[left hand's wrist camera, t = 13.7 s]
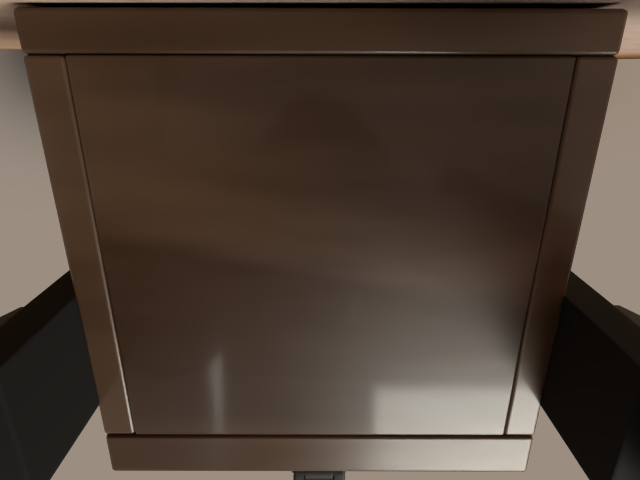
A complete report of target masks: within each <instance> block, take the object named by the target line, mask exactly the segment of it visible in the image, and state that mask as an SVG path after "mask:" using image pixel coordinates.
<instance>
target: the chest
mask: <svg viewBox="0 0 640 480" xmlns="http://www.w3.org/2000/svg"><path fill="white" fill-rule="evenodd" d="M14 15H15V20H16V25H17V29H18V34H19V38H20V43H21V48H22V50H23V52H25V53H27V54H28V55H26V56H25V57H24V62H25V66H26V71H27V76H28V80H29V85H30V89H31V94H32V99H33V103H34V108H35V112H36V117H37V122H38V126H39V131H40V135H41V140H42V144H43V149H44V154H45V158H46V163H47V168H48V172H49V177H50V181H51V186H52V190H53V195H54V200H55V204H56V209H57V213H58V218H59V223H60V227H61V232H62V236H63V241H64V246H65V250H66V255H67V259H68V264H69V269H70V273H71V278H72V282H73V287H74V292H75V296H76V301H77V305H78V310H79V315H80V319H81V324H82V328H83V333H84V337H85V342H86V347H87V351H88V356H89V360H90V365H91V369H92V374H93V378H94V383H95V387H96V392H97V397H98V401H99V406H100V411H101V416H102V420H103V425H104V429H105V432H106V433H123V434H131V433H134V432H135V433H136V434H286V435H503V434H504V433H505V434H507V435H532V434H534V432H535V427H536V423H537V418H538V414H539V409H540V404H541V400H542V395H543V391H544V386H545V382H546V377H547V372H548V368H549V363H550V359H551V354H552V350H553V345H554V341H555V336H556V332H557V327H558V323H559V318H560V314H561V309H562V305H563V300H564V296H565V293H566V289H567V284H568V280H569V276H570V271H571V267H572V262H573V258H574V253H575V249H576V244H577V240H578V235H579V231H580V226H581V222H582V218H583V213H584V209H585V204H586V200H587V195H588V191H589V186H590V182H591V177H592V173H593V168H594V164H595V160H596V155H597V150H598V146H599V142H600V137H601V133H602V128H603V124H604V119H605V115H606V110H607V106H608V102H609V97H610V93H611V88H612V84H613V79H614V75H615V70H616V65H617V61H618V59H617V57H615V56H614V55H616V54H618V52H619V50H620V46H621V41H622V37H623V32H624V28H625V23H626V19H627V15H628V14H627V11H626V10H624V9H549V8H223V7H18V8H15V9H14Z"/></svg>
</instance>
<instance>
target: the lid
mask: <svg viewBox="0 0 640 480" xmlns="http://www.w3.org/2000/svg"><path fill="white" fill-rule="evenodd" d="M107 443H108V448H109V453H110V458H111V463H112V468H113V470H115V471H526V468H527V463H528V458H529V453H530V448H531V444H532V435H507V434H505V433H504V434H503V435H286V434H136V433H135V432H134V433H131V434H123V433H108V434H107Z"/></svg>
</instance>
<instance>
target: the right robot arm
mask: <svg viewBox="0 0 640 480" xmlns="http://www.w3.org/2000/svg"><path fill="white" fill-rule="evenodd" d="M292 472H294V480H345V471H292Z"/></svg>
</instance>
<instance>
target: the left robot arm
mask: <svg viewBox="0 0 640 480" xmlns="http://www.w3.org/2000/svg"><path fill="white" fill-rule="evenodd" d="M540 405H541V406H542V408H543V409H544V411H545V413H546V414H547V416H548V417H549V419H550V420H551V422H552V423H553V425H554V426H555V428H556V429H557V431H558V432H559V434H560V435H561V437H562V439H563V440H564V442H565V443H566V445H567V446H568V448H569V449H570V451H571V452H572V454H573V455H574V457H575V458H576V460H577V461H578V463H579V465H580V466H581V468H582V469H583V471H584V472H585V474H586V475H587V477H588V478H589V480H640V315H638V314H636V313H634V312H632V311H630V310H628V309H625V308H623V307H621V306H619V305H612V304H611V303H610V302H609V301H607V300H606V299H605V298H604V297H602V296H601V295H600V294H599V293H598V292H596V291H595V290H594V289H593V288H591V287H590V286H589V285H588V284H586V283H585V282H584V281H583V280H581V279H580V278H579V277H578V276H577V275H575V274H574V273H573V272H571V271H570V276H569V280H568V284H567V289H566V293H565V296H564V300H563V305H562V309H561V314H560V318H559V323H558V327H557V332H556V336H555V341H554V345H553V350H552V354H551V359H550V363H549V368H548V372H547V377H546V382H545V386H544V391H543V395H542V400H541V404H540ZM98 406H99V401H98V397H97V392H96V387H95V383H94V378H93V374H92V369H91V365H90V360H89V356H88V351H87V347H86V342H85V337H84V333H83V328H82V324H81V319H80V315H79V310H78V305H77V301H76V296H75V292H74V287H73V282H72V278H71V273H70V270H69V271H68V272H67V273H65V274H64V275H63V276H62V277H60V278H59V279H58V280H57V281H56V282H54V283H53V284H52V285H51V286H49V287H48V288H47V289H46V290H44V291H43V292H42V293H41V294H39V295H38V296H37V297H36V298H34V299H33V300H32V301H31V302H30V303H28V304H27V305H26V306H25V307H20V308H18V309H16V310H14V311H12V312H10V313H8V314H6V315H3V316H1V317H0V480H50V479H51V477H52V476H53V474H54V473H55V471H56V470H57V468H58V467H59V465H60V464H61V462H62V461H63V459H64V458H65V456H66V455H67V453H68V452H69V450H70V448H71V447H72V445H73V444H74V442H75V441H76V439H77V438H78V436H79V435H80V433H81V432H82V430H83V429H84V427H85V426H86V424H87V422H88V421H89V419H90V418H91V416H92V415H93V413H94V412H95V410H96V409H97V407H98Z"/></svg>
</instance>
